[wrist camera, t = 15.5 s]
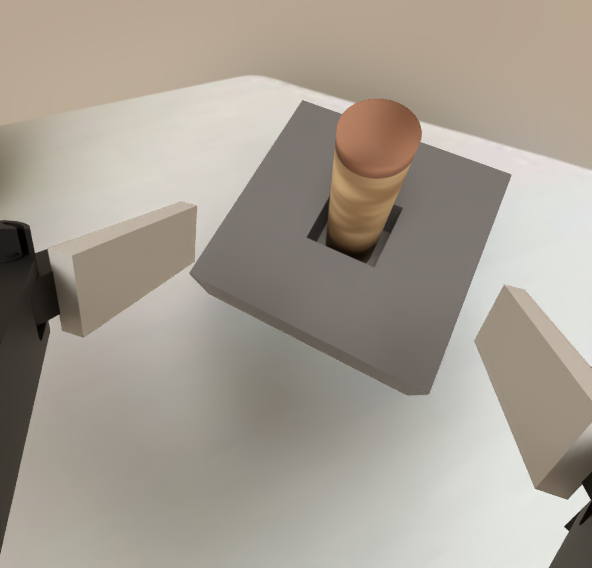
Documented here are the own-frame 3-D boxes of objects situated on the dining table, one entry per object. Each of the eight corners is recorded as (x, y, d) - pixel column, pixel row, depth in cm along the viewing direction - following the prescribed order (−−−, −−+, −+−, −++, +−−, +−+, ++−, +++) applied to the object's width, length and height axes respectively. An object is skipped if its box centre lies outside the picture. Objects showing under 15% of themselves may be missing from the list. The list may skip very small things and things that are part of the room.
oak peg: (317, 256, 35) (322, 146, 20) (337, 218, 36) (357, 88, 21) (361, 276, 34) (403, 178, 19) (380, 237, 35) (433, 114, 20)
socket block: (208, 293, 35) (188, 273, 29) (303, 141, 41) (302, 100, 35) (407, 395, 31) (428, 394, 25) (480, 209, 37) (511, 174, 31)
